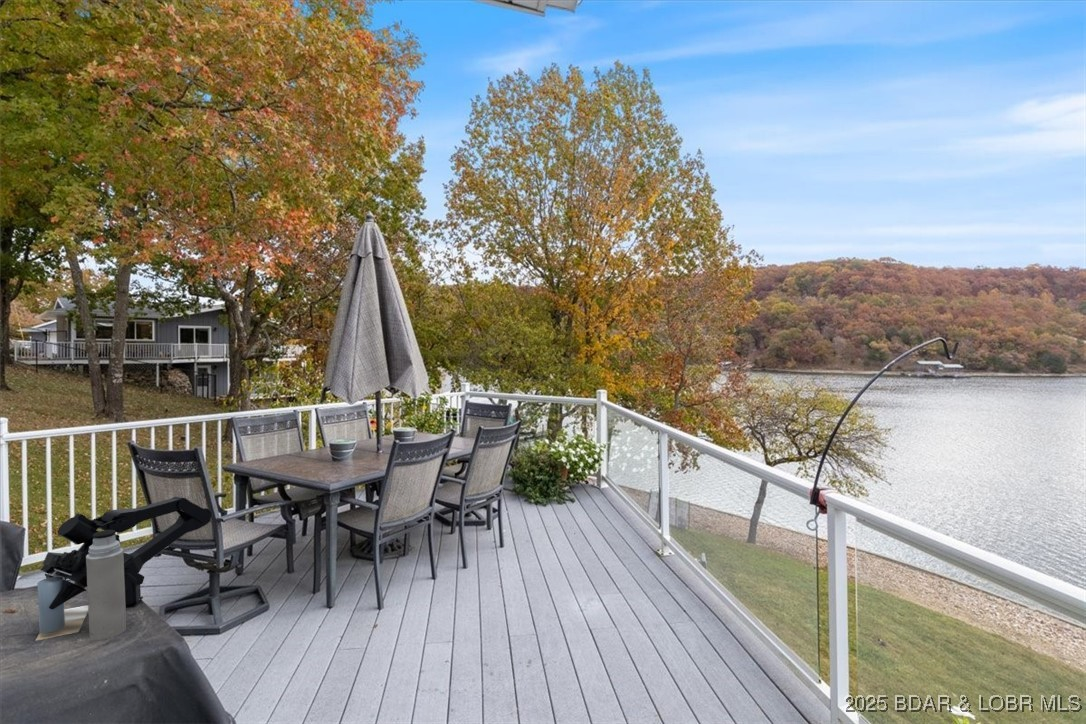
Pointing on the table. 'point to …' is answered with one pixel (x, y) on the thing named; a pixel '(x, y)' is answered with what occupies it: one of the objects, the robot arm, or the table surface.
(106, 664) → the table surface
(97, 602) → the thermos bottle
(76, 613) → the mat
